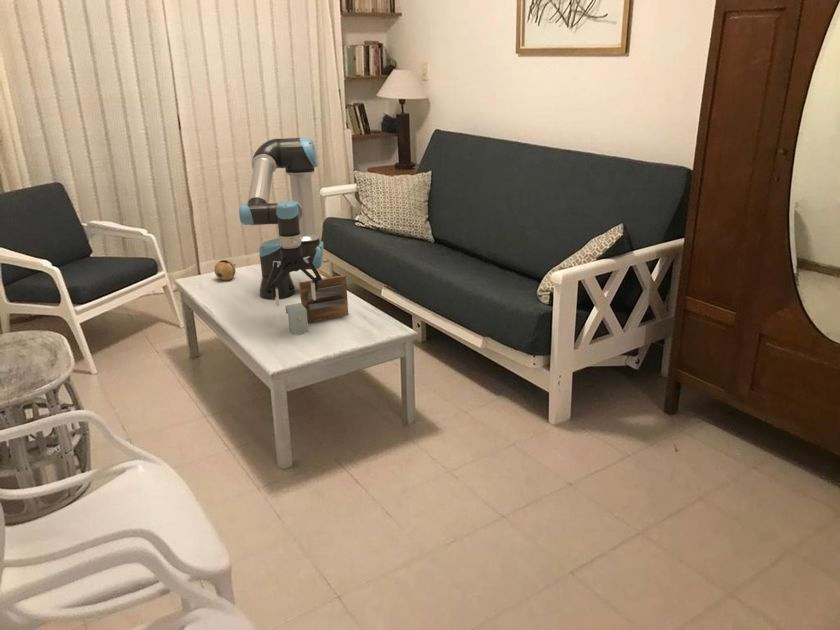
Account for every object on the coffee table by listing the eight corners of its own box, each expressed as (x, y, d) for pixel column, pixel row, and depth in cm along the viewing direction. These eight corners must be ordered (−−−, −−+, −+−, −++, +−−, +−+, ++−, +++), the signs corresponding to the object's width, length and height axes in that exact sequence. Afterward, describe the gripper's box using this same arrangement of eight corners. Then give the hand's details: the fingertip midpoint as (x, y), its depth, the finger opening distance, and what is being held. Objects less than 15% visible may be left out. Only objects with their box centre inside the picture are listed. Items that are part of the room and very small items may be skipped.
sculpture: (206, 267, 306) (224, 250, 318) (209, 283, 312) (227, 266, 323) (224, 271, 304) (242, 254, 315) (227, 288, 310) (244, 271, 321)
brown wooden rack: (300, 318, 268) (296, 279, 262) (344, 310, 275) (341, 272, 269) (306, 325, 261) (302, 285, 255) (351, 317, 268) (348, 278, 262)
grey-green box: (287, 327, 260) (285, 305, 256) (302, 325, 262) (300, 303, 258) (293, 336, 252) (291, 313, 249) (309, 333, 254) (307, 310, 251)
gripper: (257, 253, 236) (264, 310, 244) (327, 243, 245) (331, 299, 253) (253, 248, 242) (259, 304, 250) (321, 239, 252) (325, 293, 259)
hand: (296, 302), depth 252 cm, fingers open, 13 cm apart
